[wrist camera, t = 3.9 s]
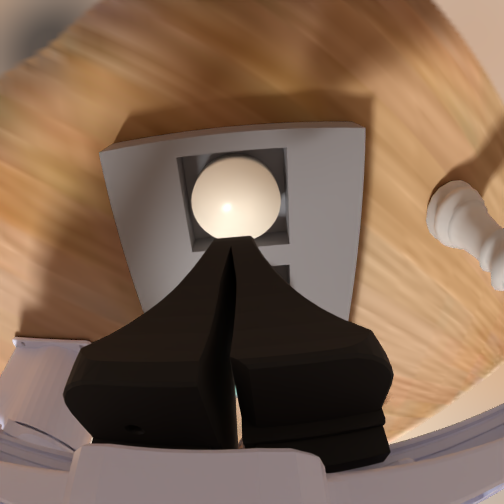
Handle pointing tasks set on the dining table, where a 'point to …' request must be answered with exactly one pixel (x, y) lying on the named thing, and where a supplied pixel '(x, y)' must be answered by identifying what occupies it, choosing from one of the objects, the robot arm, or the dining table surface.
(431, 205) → the rook chess piece
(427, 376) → the dining table surface
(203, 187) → the cream button
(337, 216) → the button board
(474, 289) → the dining table surface
